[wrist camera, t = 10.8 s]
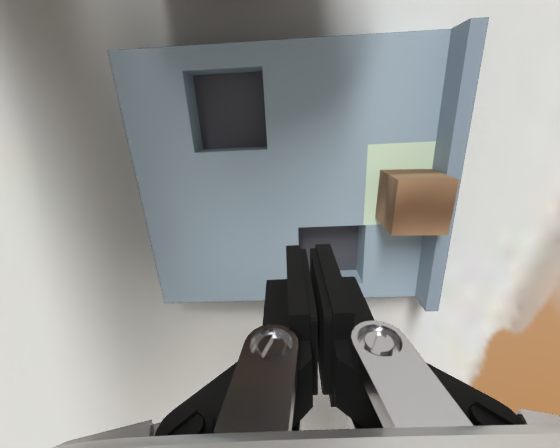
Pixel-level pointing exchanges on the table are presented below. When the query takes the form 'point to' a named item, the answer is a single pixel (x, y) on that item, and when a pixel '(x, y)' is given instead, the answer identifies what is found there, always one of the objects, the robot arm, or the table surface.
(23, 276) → the table surface
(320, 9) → the table surface
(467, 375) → the table surface
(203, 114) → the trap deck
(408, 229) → the walnut cube
